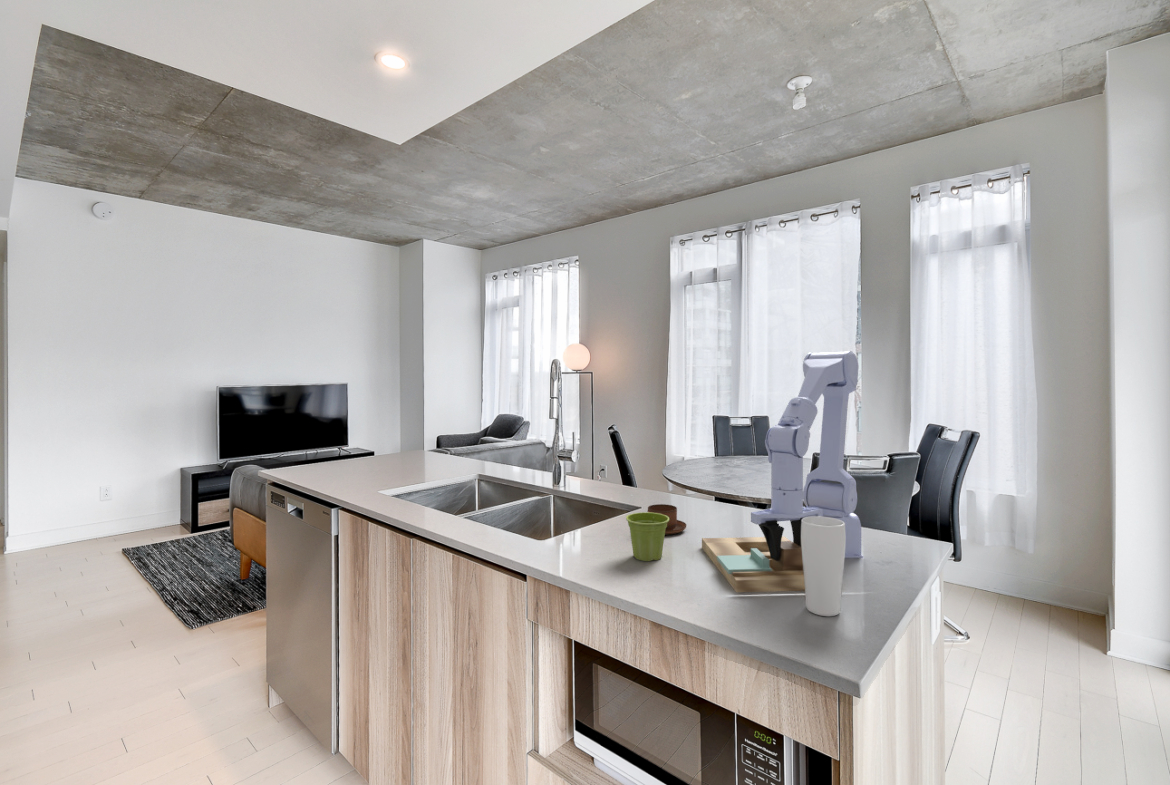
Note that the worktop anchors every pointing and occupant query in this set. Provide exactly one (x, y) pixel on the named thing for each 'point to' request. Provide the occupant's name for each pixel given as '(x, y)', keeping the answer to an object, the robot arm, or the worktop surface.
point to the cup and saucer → (671, 512)
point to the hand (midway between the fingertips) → (787, 557)
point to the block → (788, 558)
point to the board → (755, 579)
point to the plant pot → (647, 534)
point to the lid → (745, 562)
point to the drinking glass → (823, 563)
